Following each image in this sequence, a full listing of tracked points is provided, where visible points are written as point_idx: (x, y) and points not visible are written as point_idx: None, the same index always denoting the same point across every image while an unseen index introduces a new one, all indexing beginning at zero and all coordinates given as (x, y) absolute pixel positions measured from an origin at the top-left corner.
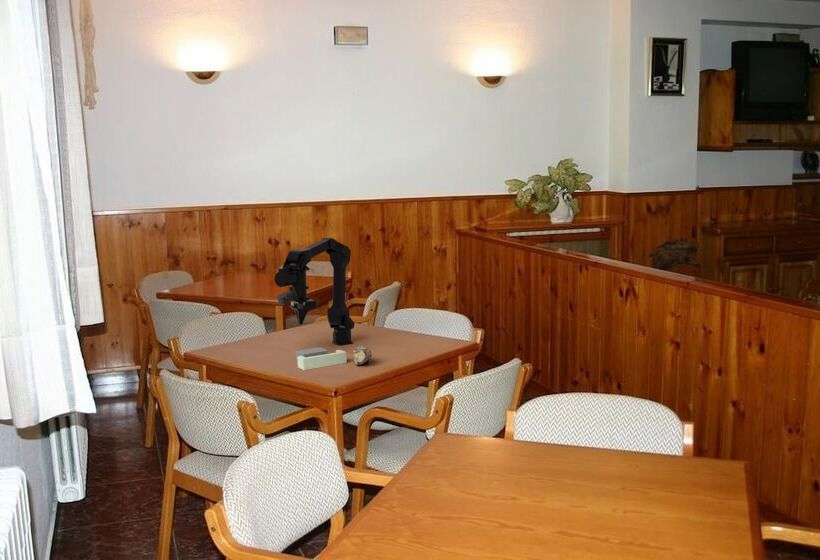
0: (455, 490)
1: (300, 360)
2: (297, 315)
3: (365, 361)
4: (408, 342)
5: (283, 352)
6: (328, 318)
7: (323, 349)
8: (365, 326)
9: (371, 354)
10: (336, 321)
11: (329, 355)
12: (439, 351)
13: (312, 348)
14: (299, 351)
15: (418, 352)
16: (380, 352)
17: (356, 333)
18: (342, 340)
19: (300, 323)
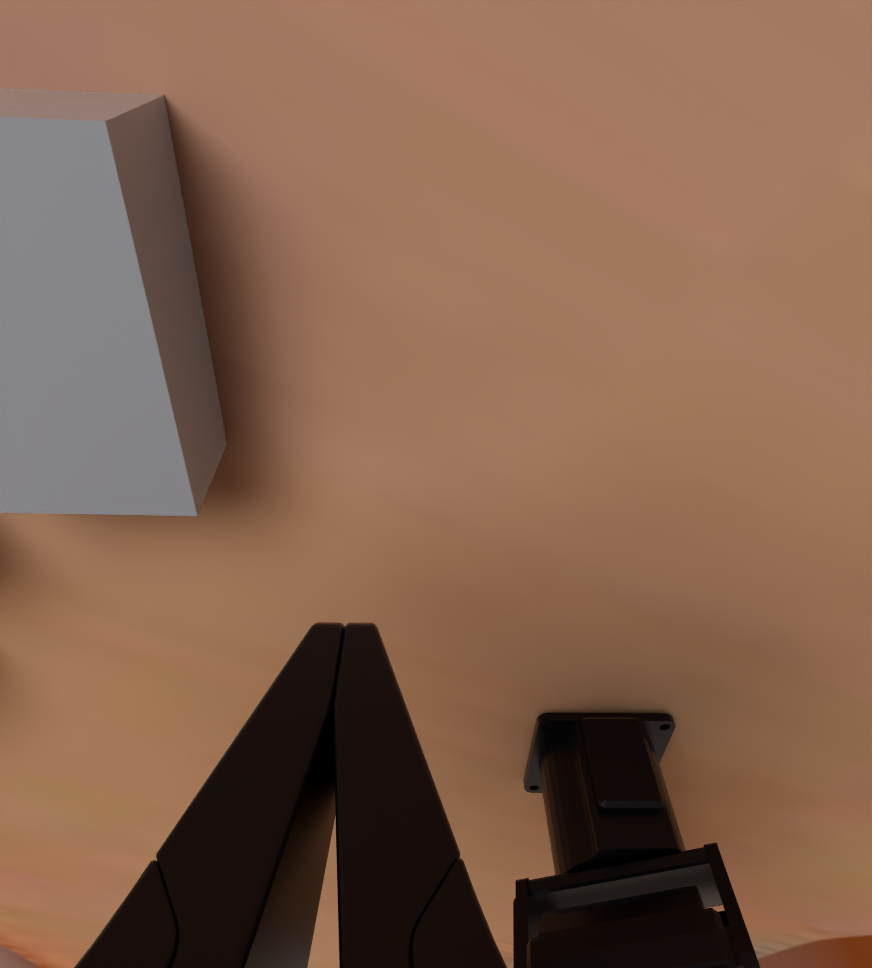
0: None
1: None
2: (342, 888)
3: None
4: (321, 922)
5: (765, 196)
6: (720, 959)
7: (46, 500)
8: (856, 930)
9: None
10: (593, 948)
11: None
12: (23, 930)
13: (174, 424)
14: (30, 164)
15: (41, 884)
16: (142, 788)
17: (762, 867)
18: (553, 765)
19: (307, 656)
